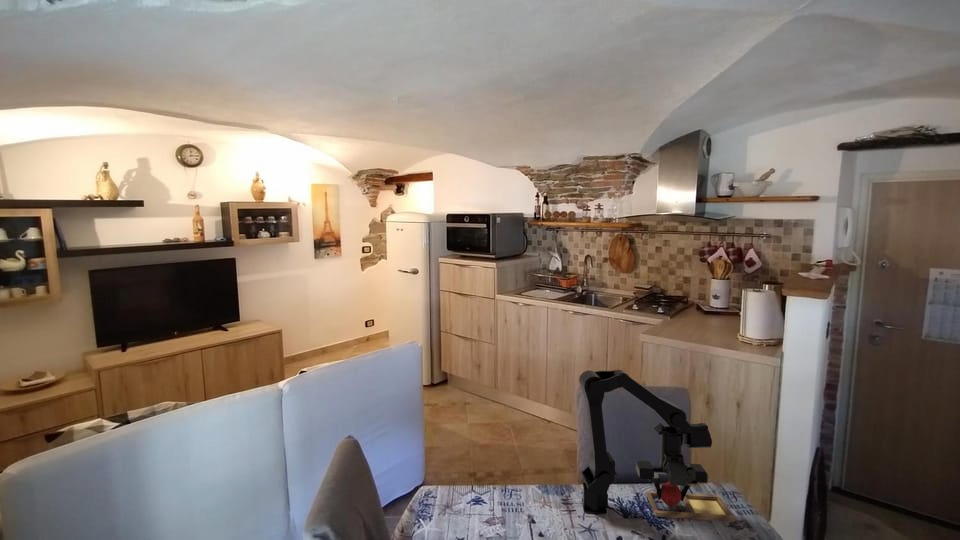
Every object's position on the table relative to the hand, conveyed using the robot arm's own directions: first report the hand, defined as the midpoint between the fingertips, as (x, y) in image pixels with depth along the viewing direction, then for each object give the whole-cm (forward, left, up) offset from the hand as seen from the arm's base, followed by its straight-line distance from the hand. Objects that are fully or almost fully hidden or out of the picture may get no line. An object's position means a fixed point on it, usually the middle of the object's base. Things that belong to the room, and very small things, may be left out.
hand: (670, 499), depth 132 cm
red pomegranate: (0, 0, -2) cm, 2 cm away
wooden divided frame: (+5, 0, -2) cm, 5 cm away
